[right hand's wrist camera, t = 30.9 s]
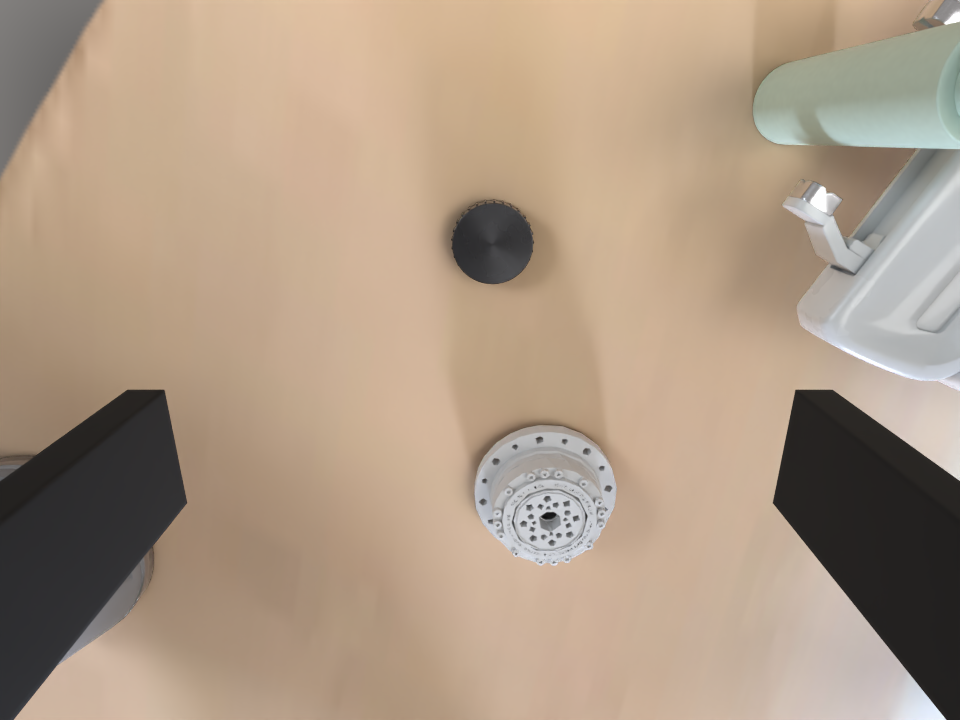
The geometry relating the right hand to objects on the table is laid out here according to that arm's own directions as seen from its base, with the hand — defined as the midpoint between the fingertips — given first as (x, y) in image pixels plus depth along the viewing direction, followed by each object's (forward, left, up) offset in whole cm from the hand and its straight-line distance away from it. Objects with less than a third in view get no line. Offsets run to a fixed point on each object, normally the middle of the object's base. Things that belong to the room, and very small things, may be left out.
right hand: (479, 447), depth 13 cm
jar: (+10, +17, -26) cm, 33 cm away
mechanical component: (+14, -12, -26) cm, 32 cm away
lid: (0, 0, -25) cm, 25 cm away
